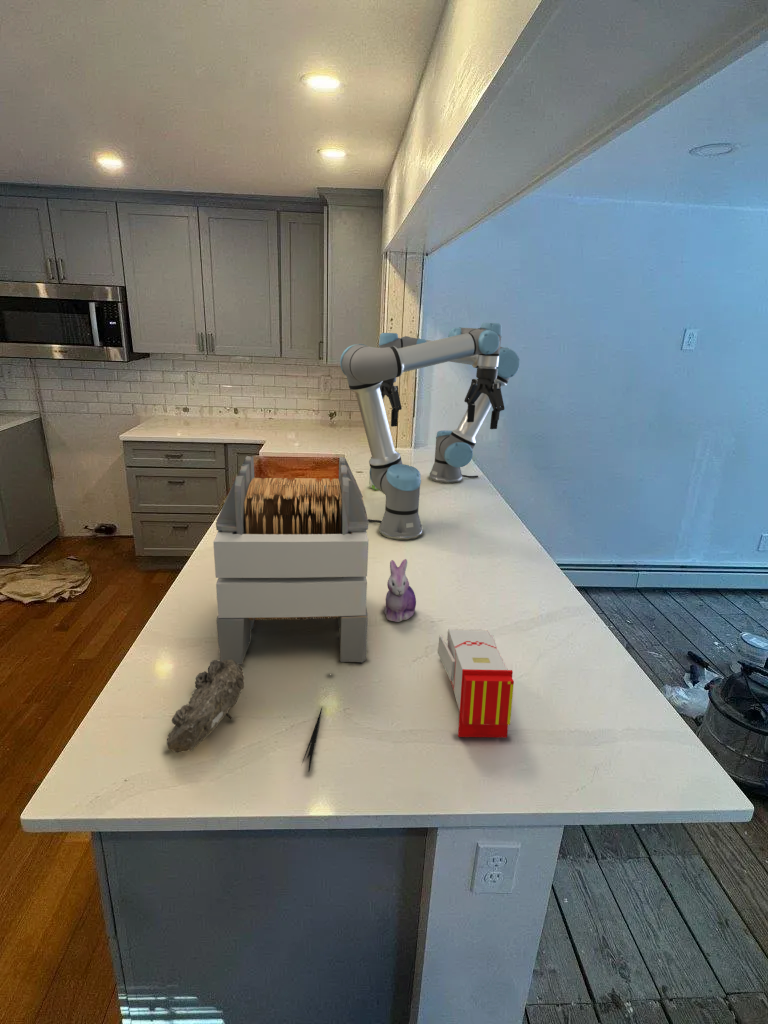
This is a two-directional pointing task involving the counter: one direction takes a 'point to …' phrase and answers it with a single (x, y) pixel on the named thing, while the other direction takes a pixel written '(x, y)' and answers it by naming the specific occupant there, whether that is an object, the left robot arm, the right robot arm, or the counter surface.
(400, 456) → the left robot arm
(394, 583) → the figurine
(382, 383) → the right robot arm
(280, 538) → the grey boxy piece
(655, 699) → the counter surface
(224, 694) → the fossil
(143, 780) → the counter surface
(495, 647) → the toy
